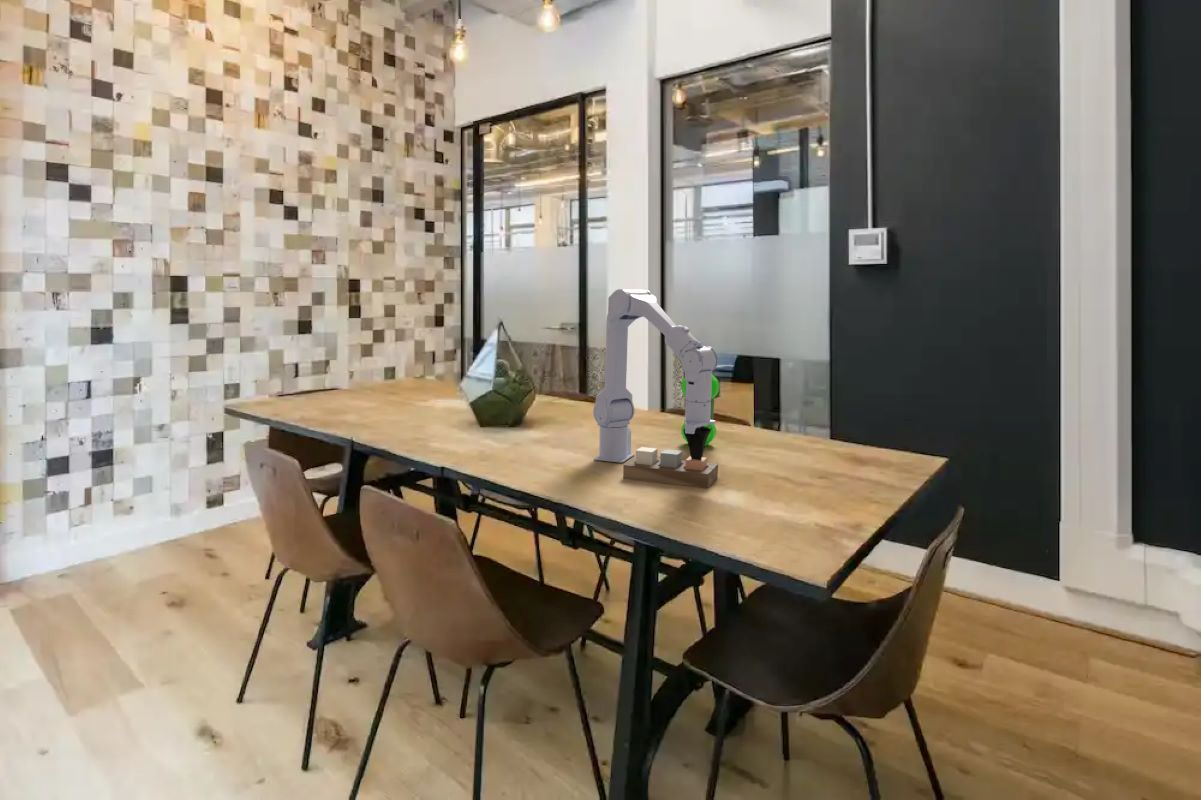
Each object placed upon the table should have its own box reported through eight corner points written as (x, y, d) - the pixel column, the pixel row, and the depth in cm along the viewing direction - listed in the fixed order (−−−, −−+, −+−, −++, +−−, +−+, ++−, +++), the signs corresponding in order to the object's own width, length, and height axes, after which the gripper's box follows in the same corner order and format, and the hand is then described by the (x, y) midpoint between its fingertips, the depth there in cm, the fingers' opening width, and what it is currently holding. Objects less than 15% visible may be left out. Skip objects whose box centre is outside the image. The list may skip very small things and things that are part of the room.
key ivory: (641, 461, 171) (641, 447, 171) (657, 463, 170) (657, 448, 169) (635, 465, 168) (636, 450, 167) (651, 467, 166) (652, 452, 165)
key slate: (665, 464, 169) (665, 449, 168) (681, 465, 167) (681, 451, 167) (660, 468, 165) (660, 452, 165) (676, 469, 164) (677, 454, 163)
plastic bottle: (724, 446, 201) (727, 357, 197) (694, 449, 196) (697, 359, 192) (702, 439, 210) (705, 354, 206) (672, 442, 204) (675, 356, 201)
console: (637, 468, 175) (637, 455, 175) (717, 477, 168) (718, 464, 167) (623, 478, 166) (623, 464, 165) (707, 488, 159) (708, 474, 158)
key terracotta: (689, 471, 167) (690, 456, 166) (706, 472, 165) (706, 457, 165) (685, 475, 163) (685, 459, 163) (702, 477, 162) (702, 461, 161)
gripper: (708, 406, 154) (706, 467, 156) (722, 397, 167) (720, 454, 169) (676, 404, 156) (674, 464, 158) (693, 395, 169) (691, 451, 172)
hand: (696, 459), depth 164 cm, fingers closed, pressing on key terracotta
